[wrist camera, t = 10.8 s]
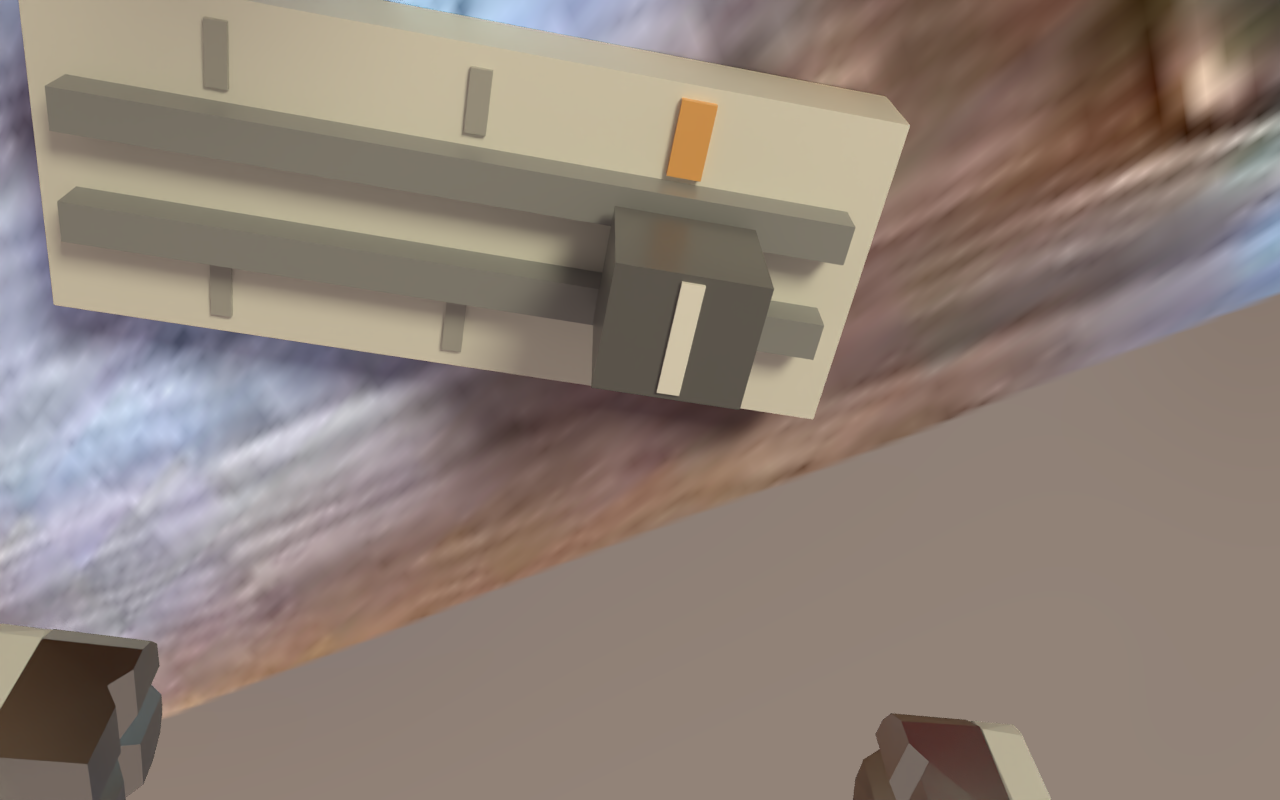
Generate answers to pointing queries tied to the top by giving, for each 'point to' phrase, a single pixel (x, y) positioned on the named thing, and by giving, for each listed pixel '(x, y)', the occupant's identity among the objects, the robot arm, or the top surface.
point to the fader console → (430, 178)
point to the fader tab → (679, 309)
